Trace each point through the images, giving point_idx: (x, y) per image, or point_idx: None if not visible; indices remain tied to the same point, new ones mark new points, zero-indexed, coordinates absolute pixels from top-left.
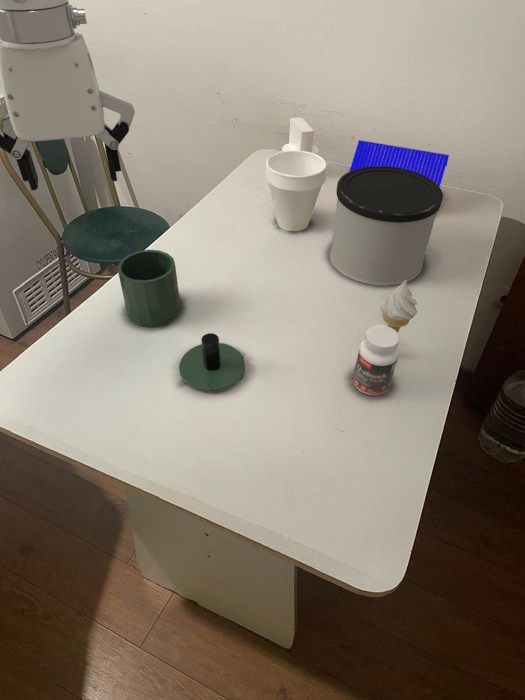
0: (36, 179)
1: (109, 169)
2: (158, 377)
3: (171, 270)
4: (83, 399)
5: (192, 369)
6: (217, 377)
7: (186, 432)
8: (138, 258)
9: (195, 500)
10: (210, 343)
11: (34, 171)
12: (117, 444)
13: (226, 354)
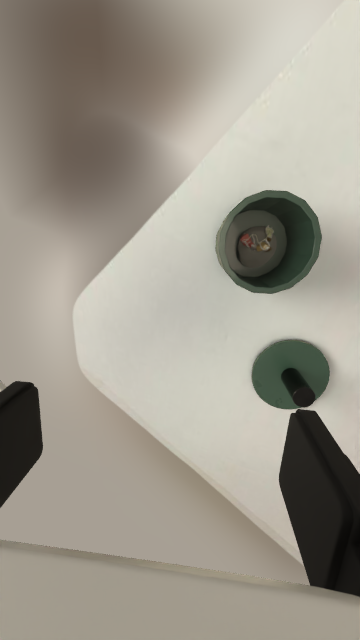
0: (30, 431)
1: (291, 523)
2: (228, 363)
3: (306, 273)
4: (149, 366)
5: (266, 375)
6: (288, 394)
7: (236, 434)
8: (261, 200)
9: (224, 490)
10: (301, 405)
11: (12, 440)
12: (174, 425)
13: (312, 367)
